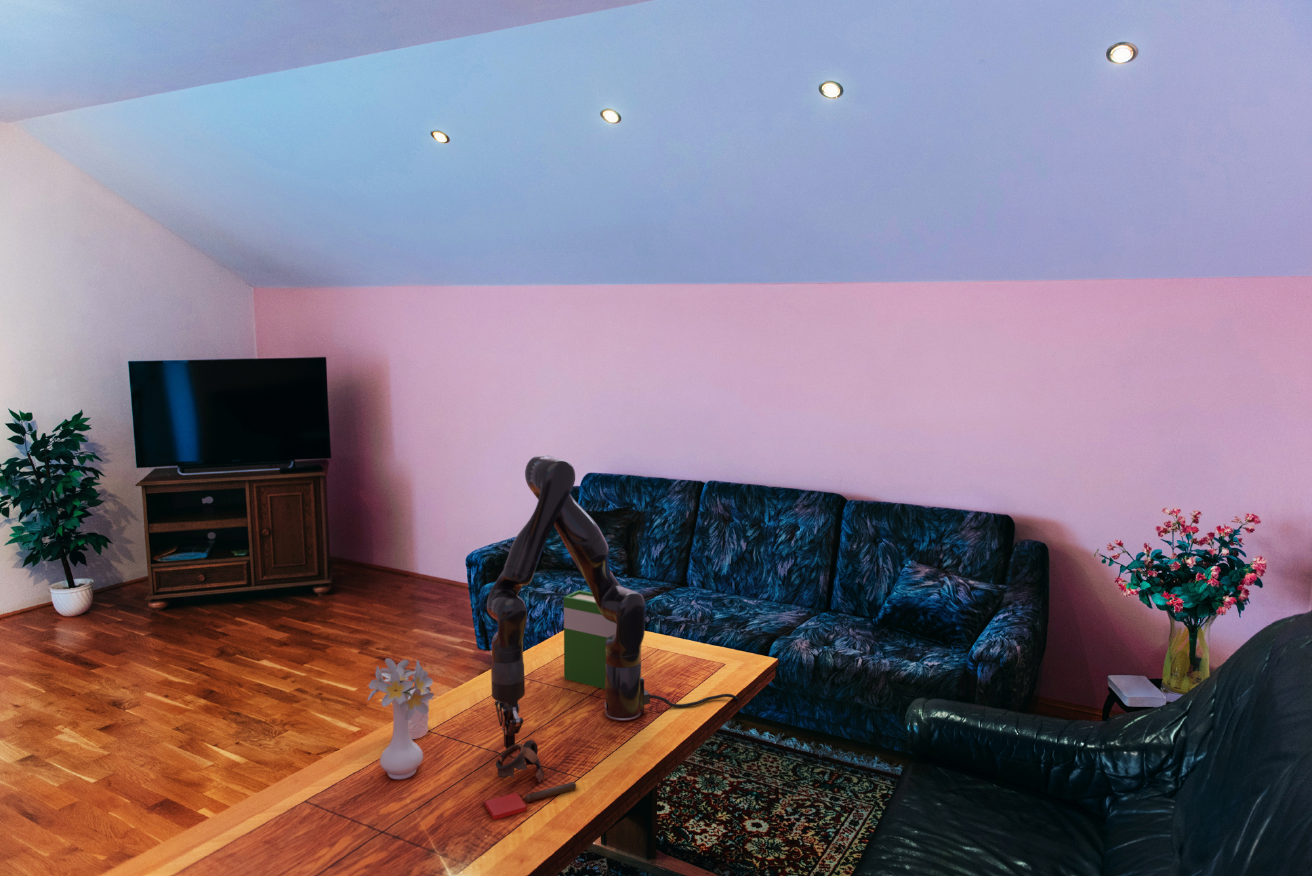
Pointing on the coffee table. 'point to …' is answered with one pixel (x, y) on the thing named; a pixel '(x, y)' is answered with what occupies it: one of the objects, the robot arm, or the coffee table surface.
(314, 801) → the coffee table surface
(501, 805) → the spatula
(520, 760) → the dark brown curved piece
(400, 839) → the coffee table surface
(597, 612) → the hardback book
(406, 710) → the flower vase
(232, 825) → the coffee table surface
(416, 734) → the white cup
